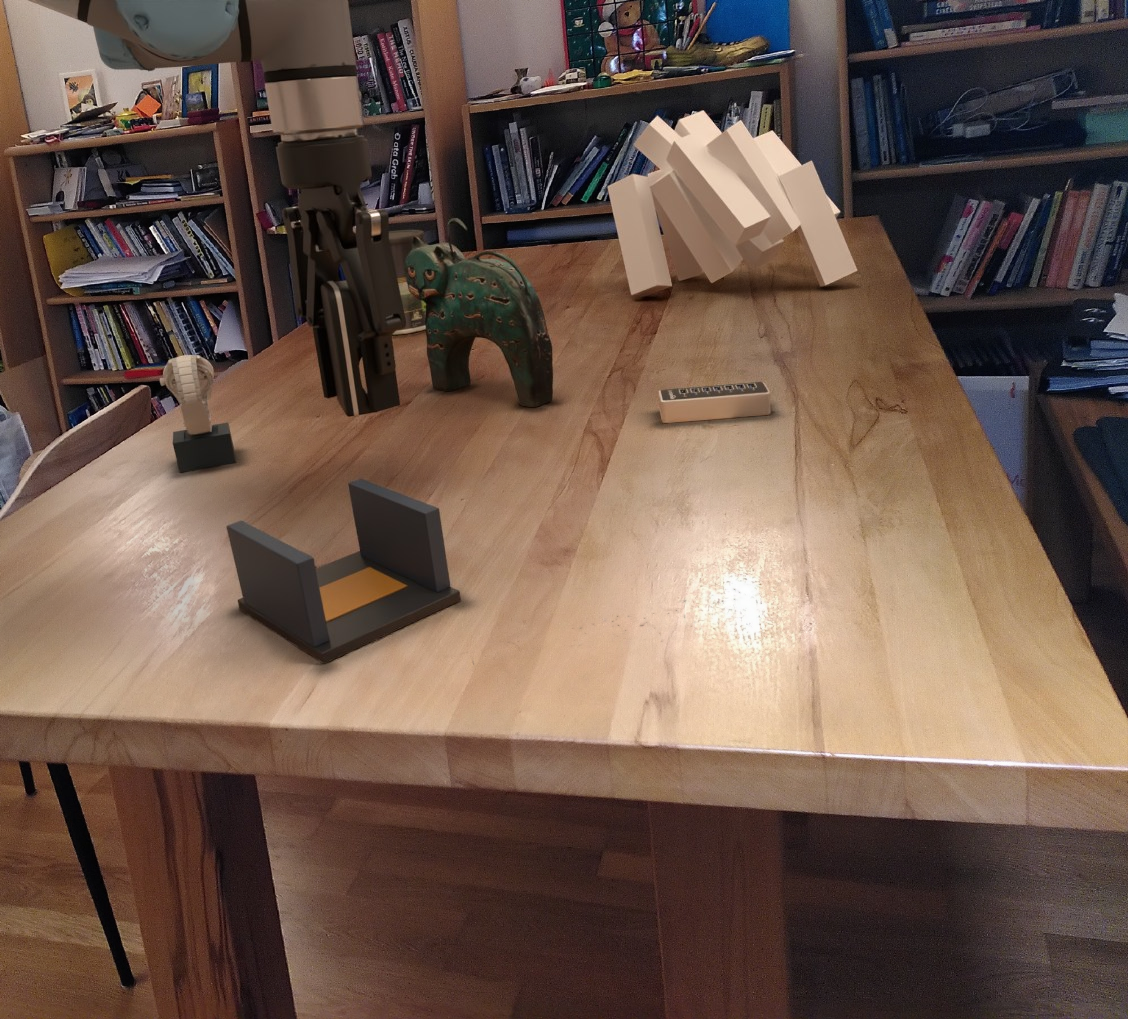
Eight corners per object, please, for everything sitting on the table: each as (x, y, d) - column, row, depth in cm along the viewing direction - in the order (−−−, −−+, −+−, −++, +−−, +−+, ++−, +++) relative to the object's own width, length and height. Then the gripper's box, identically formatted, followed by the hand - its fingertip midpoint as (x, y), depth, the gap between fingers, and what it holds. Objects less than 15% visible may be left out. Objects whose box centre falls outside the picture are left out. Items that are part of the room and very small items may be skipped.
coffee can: (443, 318, 165) (431, 227, 159) (425, 333, 155) (412, 237, 150) (381, 322, 167) (367, 231, 161) (360, 337, 157) (344, 242, 152)
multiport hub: (771, 414, 105) (770, 392, 104) (662, 423, 106) (661, 401, 105) (764, 402, 109) (763, 380, 108) (659, 410, 110) (658, 389, 109)
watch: (233, 445, 112) (211, 344, 108) (236, 467, 105) (212, 360, 101) (179, 455, 110) (154, 353, 106) (178, 478, 103) (152, 370, 99)
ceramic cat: (416, 389, 126) (391, 219, 119) (457, 376, 130) (436, 211, 123) (529, 413, 113) (509, 223, 105) (570, 397, 117) (554, 214, 110)
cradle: (238, 609, 75) (218, 522, 72) (369, 556, 81) (354, 475, 79) (323, 664, 66) (304, 568, 64) (461, 600, 73) (448, 511, 70)
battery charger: (390, 414, 93) (372, 284, 89) (347, 420, 92) (327, 290, 88) (377, 395, 99) (359, 274, 95) (336, 402, 98) (317, 279, 94)
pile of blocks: (843, 296, 178) (767, 108, 179) (887, 252, 149) (795, 26, 150) (653, 372, 180) (578, 185, 181) (659, 344, 150) (569, 121, 151)
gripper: (427, 128, 82) (460, 408, 90) (301, 134, 96) (339, 376, 105) (344, 136, 77) (387, 431, 86) (225, 142, 92) (271, 394, 100)
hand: (361, 400), depth 95 cm, fingers closed on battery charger, 7 cm apart
